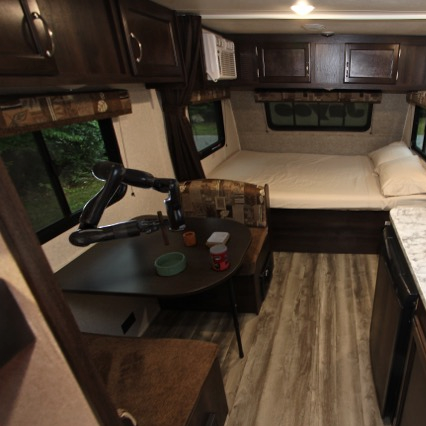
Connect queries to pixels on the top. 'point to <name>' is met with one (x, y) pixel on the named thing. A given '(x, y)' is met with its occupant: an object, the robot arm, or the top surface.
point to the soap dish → (217, 239)
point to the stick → (163, 228)
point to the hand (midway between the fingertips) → (168, 221)
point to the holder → (189, 238)
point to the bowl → (170, 264)
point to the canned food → (219, 257)
